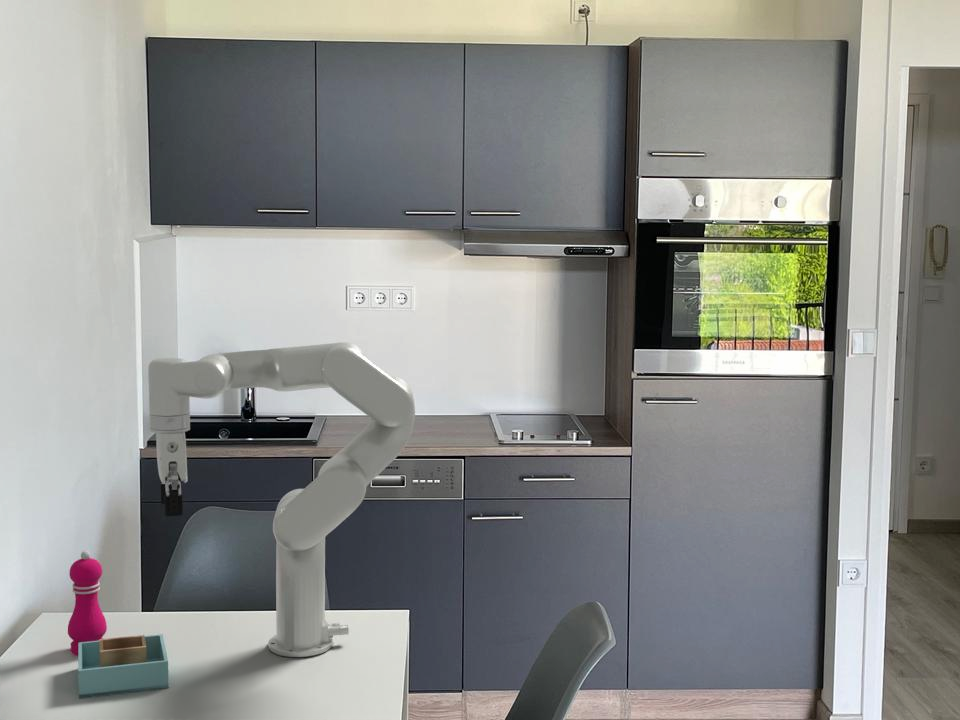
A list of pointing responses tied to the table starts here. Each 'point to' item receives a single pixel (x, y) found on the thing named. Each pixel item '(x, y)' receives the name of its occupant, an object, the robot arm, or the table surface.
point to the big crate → (122, 670)
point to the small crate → (122, 651)
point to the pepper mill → (86, 602)
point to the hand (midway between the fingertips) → (171, 509)
